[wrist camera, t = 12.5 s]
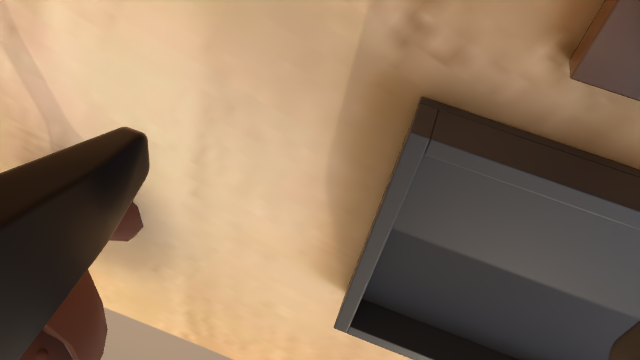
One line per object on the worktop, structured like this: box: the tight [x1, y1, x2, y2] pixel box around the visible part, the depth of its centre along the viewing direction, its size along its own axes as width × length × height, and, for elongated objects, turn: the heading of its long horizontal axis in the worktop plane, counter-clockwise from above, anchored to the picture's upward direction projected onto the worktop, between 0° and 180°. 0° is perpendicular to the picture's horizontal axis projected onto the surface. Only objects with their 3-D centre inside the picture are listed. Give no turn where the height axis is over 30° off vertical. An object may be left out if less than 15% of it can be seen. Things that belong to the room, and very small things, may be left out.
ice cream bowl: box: [19, 202, 143, 360], centre depth 28 cm, size 11×11×15 cm
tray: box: [334, 97, 640, 360], centre depth 24 cm, size 18×15×2 cm
